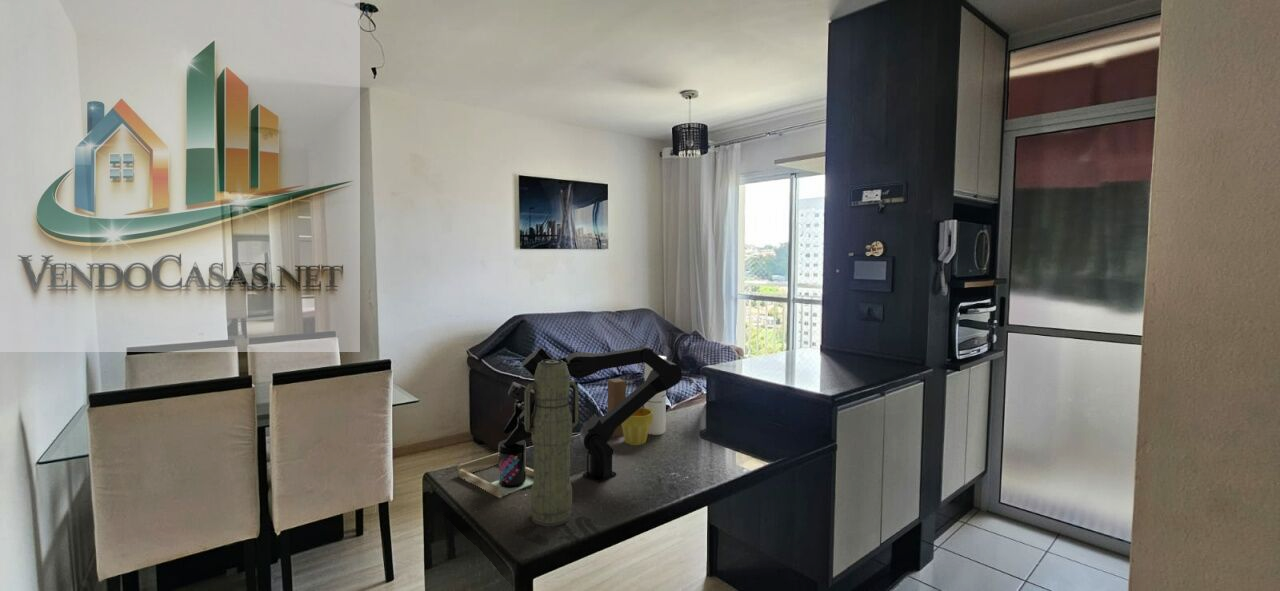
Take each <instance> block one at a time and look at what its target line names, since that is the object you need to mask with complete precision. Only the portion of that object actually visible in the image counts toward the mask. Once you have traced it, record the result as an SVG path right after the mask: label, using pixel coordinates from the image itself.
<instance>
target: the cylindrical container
mask: <svg viewBox="0 0 1280 591" xmlns="http://www.w3.org/2000/svg"><path fill="white" fill-rule="evenodd" d="M657 355H658V354H657ZM658 356H660V357H661V358H662V359H664V360H668V358H667V356H665V355H658ZM652 370H653V369H652V368H651V367H650V366H649V365H647V364H646V363H644V382H645V381H646V379H647V378H648V376H649V374H650V372H651V371H652ZM666 402H667V390H665V391H663V392H660V393H657V394H656V395H655V396H654V397H652V398H651V399H650V400H649V401H648V402H647V403H645V404H644V405H643V408H647V409H650V410H651V411H652V423H651V424H650V426H649V431H648V435H651V434H652V436H654V435H655V436H659V435H663V434H665V433H666V414H667V411H666V408H667V403H666Z"/></svg>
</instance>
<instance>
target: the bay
mask: <svg viewBox="0 0 1280 591" xmlns="http://www.w3.org/2000/svg"><path fill="white" fill-rule="evenodd" d="M498 455H499V451H498V452H496V453H492V454H489V455H485V456H482V457H480V458H476V459H474V460H470V461H466V462H464V463H460V464H458V465H457V477H458V476H459V477H458V478H460V479H461V480H464V479H465V480H464V481H466V482H468V483H470V484H471V483H472V485H473V484H474V485H473V486H475V485H476V486H475V487H477V486H478V488H479V487H480V488H479V489H481V488H482V490H483V489H484V490H483V491H485V490H486V491H485V492H487V493H489V494H491V495H493V496H495V497H496V498H499V499H501V498H503V497H504V496H507V495H509V493H510V494H512V493H514V492H517V491H520V490H522V489H525V488H527V487H530V486H532V485H533V482H534V468H531V467H527V466H526V480H525V483H524V484H523V485H521V486H519V487H515V488H506V487H502V486H501V485H500V484H499V479H498V480H495V481H492V482H490V481H487V480H485V479H484V478H481V477H479V476H477V475H475V474H473V472H474V473H477V472H479V470H480V471H483V470H486V469H488V468H491V466H492V467H494V465H495V466H497V465H496V464H498V465H499V456H498ZM476 471H477V472H476Z"/></svg>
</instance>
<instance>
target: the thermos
mask: <svg viewBox="0 0 1280 591" xmlns="http://www.w3.org/2000/svg"><path fill="white" fill-rule="evenodd" d="M559 359H560V358H552V359H547V360H542V361H541V362H539V363H538V365H537V368H536V371H535V375H534V377H533V378H534V381H532V382H531V383H528V384H527V385H526V388H525V390H524V423H525V431H526V432H530V433H532V437H531V442H532V445H533V470H534V482H533V485H531V489H530V501H531V502H530V507H531V519H532V522H533V523H534V524H536V525H538V526H541V527H555V526H560V525H563V524H565V523H567V522H568V521H569V520H571V518H572V505H573V486H572V483H571V480H570V479H571V476H570V475H571V474H570V471H571V470H570V469H571V461H570V460H571V456H570V455H571V454H570V453H571V450H570V449H571V443H572V442H571V441H572V440H573V430H574V428H575V427H576V426H577V425H578V424H579V401H580V400H579V399H580V398H579V395H580V394H579V390H580V389H579V385H578V386H577V385H576V383H575V382H574V381H573V380H574V379H572V380H570V378H571V376H570V374H569V371H568V368H567V365H566V362H564V361H563V360H559ZM570 385H572V388H570ZM531 389H532V390H533V389H534V397H535V403H534V411H533V414H532V424H530V391H531ZM570 389H571V390H572V392H571V393H572V394H571V398H572V399H571V400H572V404H571V406H572V407H571V408H570V401H569V398H570Z"/></svg>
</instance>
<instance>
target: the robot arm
mask: <svg viewBox="0 0 1280 591" xmlns="http://www.w3.org/2000/svg"><path fill="white" fill-rule="evenodd" d="M660 356H661V355H660ZM660 356H658V354H657V353H656V352H654V350H653V349H652V348H650V347H649V346H646V345H641V346H639V347H633V348H632V347H631V348H628V349H620V350H614V351H608V352H602V353H592V352H577V351H576V352H572V353H570V354H568V355H567V356H566V357H561V358H558V359H559V360H563V361H564V362H566V365H567V368H568V371H569V374H570V380H573V381H574V382H575V383H576V385H577V386H578V387H579V381H578V379H584V378H585V377H588V376H589V377H590V376H591V375H594V374H596V373H598V372H600V371H602V370H607V369H614V368H620V367H624V366H632V365H636V364H637V365H638V364H645V363H646V364H647V365H649V366H650V367H651V368H652V369H653V370H652V371H651V372H650V374H649V376H648V378H647V379H646V381H645V380H644V382H642V383H641V384H640V385H638V387H637V388H635V389H634V390H632V392H630V393H629V394H628V395H626V398H625V399H624V400H622V401H621V402H620V403H619V404H618V405H617V406H615V407H614V408H613V409H612V410H611V411H609V412H608V413H607V412H606V414H604V415H601V416H599V417H598V415H597V414H596V413H594V414H592V416H591V417H590V418H589V419H588V420H587V421H584V422H583V425H582V426H581V428H580V431H579V436H580V440H581V442H582V444H583V446H584V447H585V449H586V450H587V452H586V453H587V454H586V471H585V472H583V473H582V476H584V477H586V478H589V479H591V480H594V481H596V482H599V483H600V482H603V481H605V480H607V479H610V478H612V477H614V476H616V475H617V472H615V471H613V454H614V452H615V449H614V447H613V446H612V445H611V443H610V440H611V439H612V438H613V437H612V435H613V433H614V431H615V430H616V428H617V427H618V426H620V425H621V424H622V423H623V422H624V421H625V420H627V419H628V418H629V417H630V416H631V415H632V414H634V413H635V412H636V411H637V410H638V409H639V408H641V407H644V404H645V403H647V402H648V401H649V400H650V399H651V398H652V397H654V396H655V395H656V394H657V393H660V392H663V391H665V390H666V391H668V390H670V389H672V388H673V387H675V386H677V385H678V384H679V383H680V382H681V381H682V379H683V371H682V369H681V367H680V366H679V365H677V364H676V363H674V362H673V361H670V360H668V359H667V360H664V359H662V358H661V357H660ZM547 359H553V358H552V356H550V355H549V354H548V353H547V352H546V350H545V349H544V348H543V347H541V346H540V347H539V348H538V349H537V350H535V351H533V353H530V354H528V356H526V358H525V359H524V360H523V362H522V363H521V367H522V368H523V369H524V370H525V371H526V372H527V373H528V374H529V375H530V376H531V377H532V378H534V375H535V371H536V368H537V365H538V363H539V362H541V361H542V360H547ZM572 378H574V379H572ZM526 387H527V385H526V386H525V385H523V384H521V383H519V382H515V381H512V382H511V385H510V387H509V390H508V391H507V397H508V398H510V399H512V400H515V402H514V412H513V414H512V416H511V418H509V421H508V422H507V425H506V426H505V428H504V429H503V433H504V434H509V433H510V434H509V436H508V437H507V440H506V439H505V440H506V442H505V444H506V445H507V446H509V445H512V444H514V443H517V442H519V441H522V440H526V439H529V438H532V433H530V432H526V431H525V423H524V390H525V388H526ZM570 389H572V385H570ZM534 403H535V397H534V388H532V389H531V391H530V424H532V414H533V411H534Z"/></svg>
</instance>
